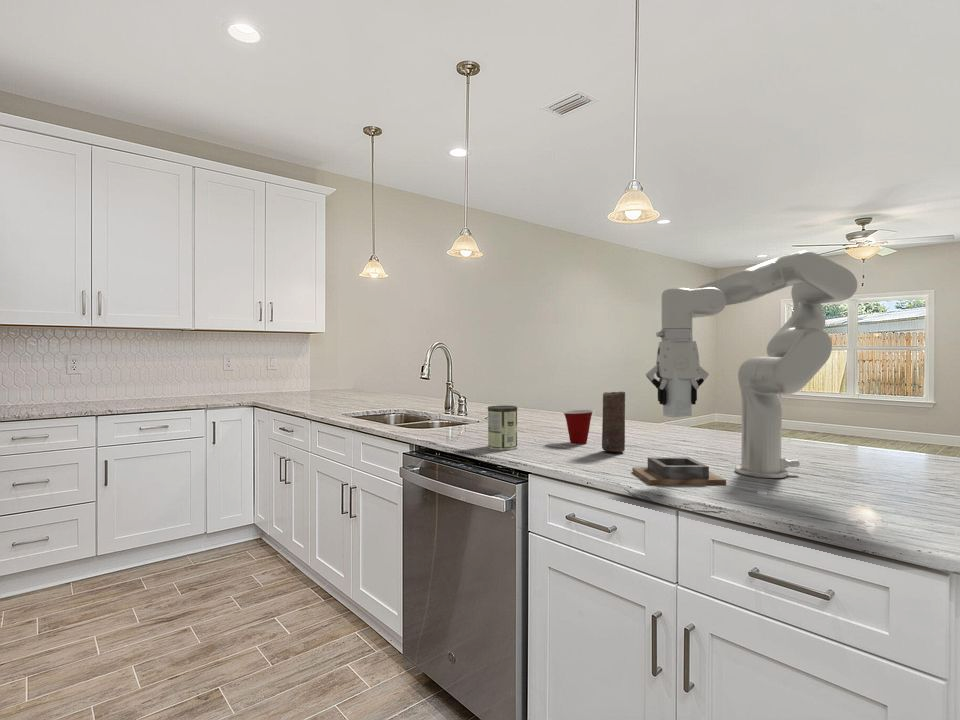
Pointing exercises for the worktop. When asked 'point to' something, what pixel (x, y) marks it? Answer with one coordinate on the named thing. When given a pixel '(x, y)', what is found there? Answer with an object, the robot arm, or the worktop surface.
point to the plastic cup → (578, 425)
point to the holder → (677, 472)
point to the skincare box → (678, 397)
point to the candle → (613, 422)
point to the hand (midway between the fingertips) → (677, 403)
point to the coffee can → (502, 427)
